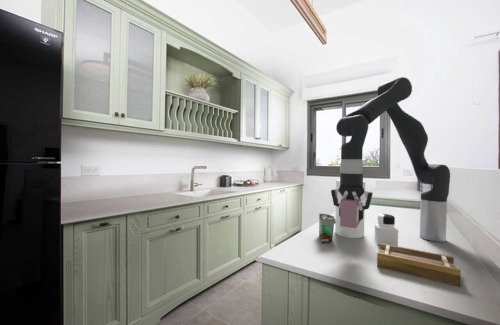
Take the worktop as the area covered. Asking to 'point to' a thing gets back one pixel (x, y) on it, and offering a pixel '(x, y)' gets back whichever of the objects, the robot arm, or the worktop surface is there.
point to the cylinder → (348, 231)
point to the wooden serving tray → (419, 263)
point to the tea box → (349, 213)
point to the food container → (326, 227)
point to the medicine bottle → (386, 230)
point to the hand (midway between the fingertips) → (350, 219)
